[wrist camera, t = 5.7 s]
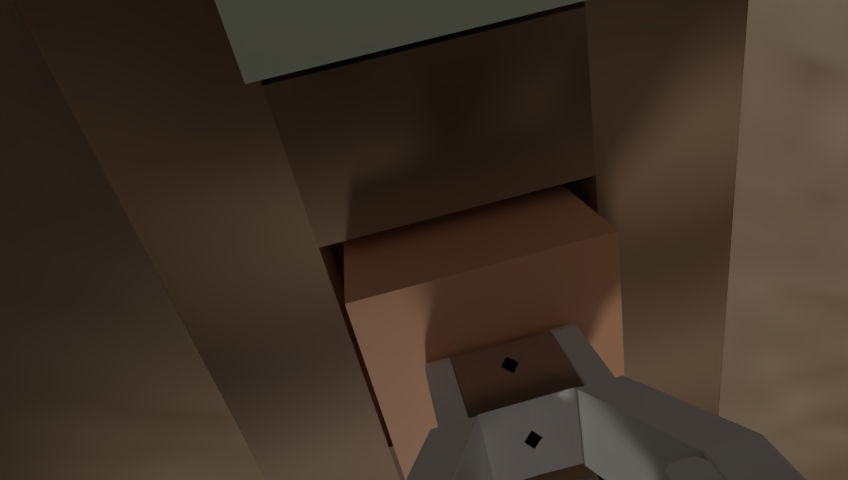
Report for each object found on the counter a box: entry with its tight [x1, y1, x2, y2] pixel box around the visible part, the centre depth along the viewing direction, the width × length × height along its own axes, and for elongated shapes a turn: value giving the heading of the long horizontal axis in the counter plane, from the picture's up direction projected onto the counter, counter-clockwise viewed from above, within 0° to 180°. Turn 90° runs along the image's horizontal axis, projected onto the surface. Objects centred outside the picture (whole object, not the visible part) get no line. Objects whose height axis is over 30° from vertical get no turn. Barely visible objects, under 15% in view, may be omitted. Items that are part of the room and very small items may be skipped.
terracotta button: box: [344, 184, 625, 480], centre depth 12 cm, size 5×5×4 cm
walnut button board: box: [13, 0, 748, 480], centre depth 13 cm, size 26×12×3 cm, turn 12°
